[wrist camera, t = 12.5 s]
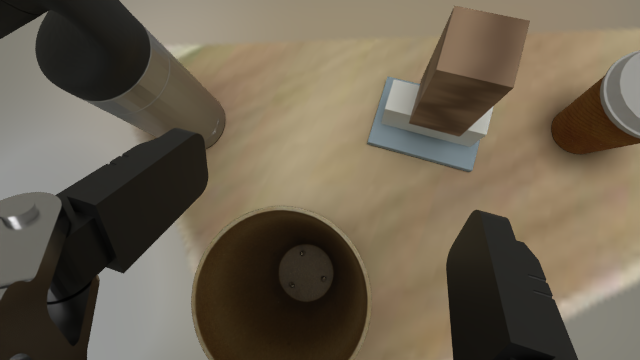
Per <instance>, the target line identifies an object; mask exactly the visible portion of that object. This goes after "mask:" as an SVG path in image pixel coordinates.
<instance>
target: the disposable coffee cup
mask: <svg viewBox="0 0 640 360" xmlns="http://www.w3.org/2000/svg"><path fill="white" fill-rule="evenodd" d="M552 135H553V138H554V140H555V141H556V143H557V144H558V145H559V146H560V147H561V148H563V149H564V150H566V151H568V152H571V153H574V154H586V153H590V152H596V151H601V150H607V149H612V148H617V147H622V146H628V145H633V144H638V143H640V50H639V51H636V52H632V53H630V54H628V55H625V56H623V57H622V58H620V59H619V60H617V61H616V62H615V63H614V64H613V65H612V66H611V67H610V69H609V70H608V71H607V73H606V75H605V76H604V77H603V78H601V79H600V80H599V81H598V82H597V83H595V84H594V85H593V86H592V87H591V88H589V89H588V90H587V91H586V92H585V93H584V94H582V95H581V96H580V97H578V98H577V99H576V100H575V101H574V102H572V103H571V104H570V105H569V106H568V107H566V108H565V109H564V110H563V111H562V112H560V113H559V114H558V115H557V116H556V117H555V118H554V120H553V123H552Z"/></svg>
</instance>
